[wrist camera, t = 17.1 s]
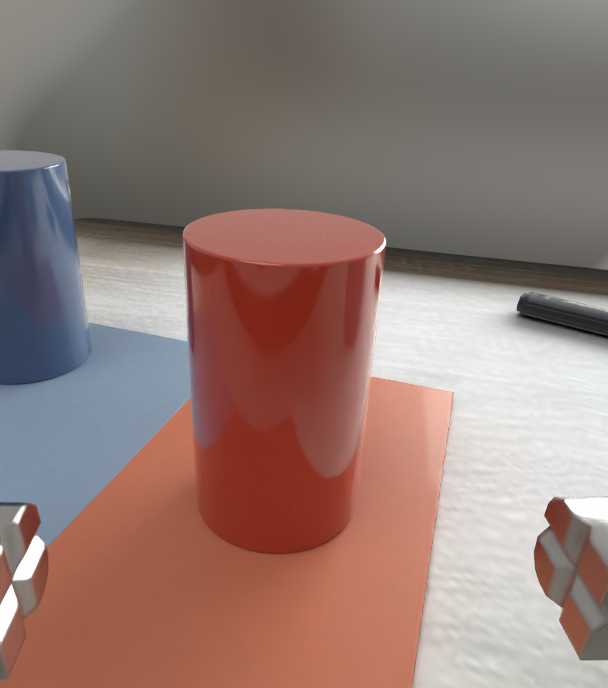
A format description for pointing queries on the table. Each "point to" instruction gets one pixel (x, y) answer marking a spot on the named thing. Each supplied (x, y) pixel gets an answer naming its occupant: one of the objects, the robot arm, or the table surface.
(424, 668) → the table surface
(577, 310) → the usb stick
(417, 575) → the sorting board
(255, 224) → the red upright cylinder
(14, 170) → the navy blue cylinder
